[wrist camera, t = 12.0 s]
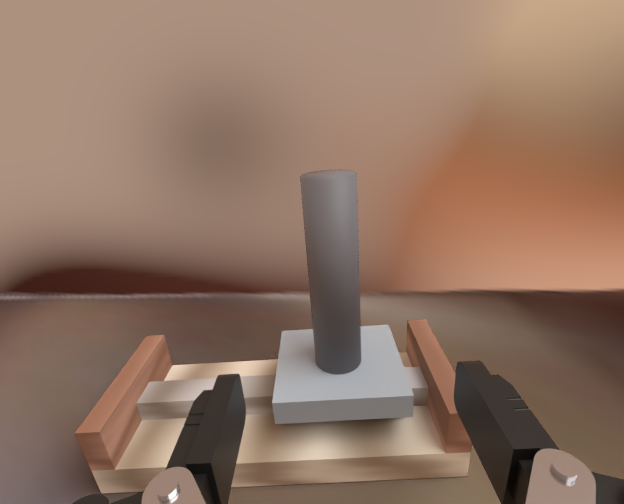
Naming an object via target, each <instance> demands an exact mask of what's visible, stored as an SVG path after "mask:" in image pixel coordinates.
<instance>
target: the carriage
mask: <svg viewBox="0 0 624 504" xmlns="http://www.w3.org/2000/svg"><path fill="white" fill-rule="evenodd" d="M300 182H301V194H302V204H303V217H304V229H305V241H306V253H307V265H308V277H309V287H310V300H311V312H312V324H313V329H308V330H291V331H282V335H281V342H280V349H279V357H278V364H277V371H276V378H275V385H274V392H273V400H272V407H273V413H274V420H275V424H287V423H306V422H325V421H345V420H364V419H383V418H402V417H413V403H414V395H413V392H412V389H411V386H410V383H409V381H408V378H407V375H406V372H405V369H404V366H403V364H402V361H401V358H400V355H399V352H398V350H397V347H396V344H395V341H394V338H393V336H392V333H391V330H390V327H389V325H375V326H361V324H360V283H359V282H360V281H359V243H358V242H359V240H358V198H357V197H358V196H357V172H355V171H352V170H322V171H315V172H309V173H305V174H303V175H301V176H300Z"/></svg>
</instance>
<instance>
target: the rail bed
mask: <svg viewBox="0 0 624 504" xmlns="http://www.w3.org/2000/svg"><path fill="white" fill-rule="evenodd" d="M399 355H400V358H401V361H402V364H403V366H404V369H405V372H406V375H407V378H408V381H409V383H410V386H411V389H412V392H413V395H414V403H413V417H402V418H383V419H364V420H345V421H325V422H306V423H287V424H275V420H274V413H273V407H272V400H273V392H274V385H275V378H276V371H277V364H278V359H276V360H259V361H241V362H224V363H207V364H189V365H172V362H171V359H170V355H169V351H168V348H167V344H166V340H165V337H164V335H157V336H146V338H145V339H144V340H143V342H142V343H141V344H140V346H139V347H138V348H137V350H136V351H135V352H134V354H133V355H132V357H131V358H130V359H129V361H128V362H127V363H126V365H125V366H124V367H123V369H122V370H121V371H120V373H119V374H118V375H117V377H116V378H115V380H114V381H113V382H112V384H111V385H110V386H109V388H108V389H107V390H106V392H105V393H104V394H103V396H102V397H101V398H100V400H99V401H98V402H97V404H96V405H95V407H94V408H93V409H92V411H91V412H90V413H89V415H88V416H87V417H86V419H85V420H84V421H83V423H82V424H81V425H80V427H79V428H78V429H77V431H76V432H75V435H76V438H77V440H78V442H79V444H80V446H81V449H82V451H83V453H84V455H85V458H86V460H87V462H88V464H89V467H90V469H91V471H92V473H93V476H94V478H95V480H96V482H97V485H98V487H99V489H100V491H101V493H123V492H142V491H144V490H145V488H146V487H147V485H148V484H149V482H150V481H151V480H152V479H153V478H154V477H155V476H156V475H158V474H159V473H161V472H162V471H164V470H165V469H166V467H167V464H168V462H169V460H170V457H171V455H172V452H173V450H174V447H175V445H176V443H177V440H178V438H179V435H180V433H181V431H182V428H183V427H184V423H185V421H186V418H187V417H188V414H189V411H190V409H191V406H192V404H193V402H194V400H195V399H196V398H197V397H198V396H199V395H200V394H201V393H202V392H203V390H212V389H213V387H214V384H215V381H216V378H217V376H218V375H222V374H239V375H240V378H241V383H242V388H243V394H244V399H245V405H246V420H245V425H244V430H243V435H242V439H241V444H240V448H239V453H238V458H237V462H236V467H235V471H234V476H233V481H232V485H231V487H250V486H271V485H293V484H314V483H335V482H356V481H378V480H399V479H420V478H441V477H463V476H468V469H469V461H470V454H471V447H472V442H471V440H470V438H469V436H468V434H467V432H466V430H465V428H464V425H463V423H462V421H461V419H460V417H459V415H458V413H457V411H456V407H455V403H454V386H455V376H456V374H455V372H454V371H453V369H452V367H451V365H450V363H449V361H448V359H447V358H446V356H445V354H444V352H443V350H442V348H441V347H440V345H439V343H438V341H437V339H436V337H435V336H434V334H433V332H432V330H431V328H430V326H429V325H428V323H427V321H426V319H423V320H408V321H407V349H406V352H399Z"/></svg>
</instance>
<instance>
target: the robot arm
mask: <svg viewBox="0 0 624 504" xmlns="http://www.w3.org/2000/svg"><path fill="white" fill-rule="evenodd" d="M454 403H455V407H456V411H457V413H458V415H459V417H460V419H461V421H462V423H463V425H464V428H465V430H466V432H467V434H468V436H469V438H470V440H471V442H472V444H473V446H474V448H475V450H476V452H477V454H478V456H479V459H480V461H481V463H482V465H483V467H484V469H485V471H486V473H487V475H488V477H489V479H490V481H491V483H492V485H493V487H494V490H495V492H496V494H497V496H498V498H499V500H500V502H501V504H624V480H623V479H618V478H614V477H610V476H605V475H601V474H597V473H594V472H591V471H590V470H589V469H588V468H587V467H586V465H585V464H583V463H582V462H581V461H580V460H579V459H577V458H576V457H574V456H572V455H571V454H569V453H566V452H564V451H561V450H559V448H558V447H557V446H556V444H555V443H554V442H553V440H552V439H551V438H550V436H549V435H548V433H547V432H546V431H545V429H544V428H543V427H542V425H541V424H540V423H539V421H538V420H537V418H536V417H535V416H534V414H533V413H532V412H531V410H529V409H528V406H527V405H526V404H525V402H524V401H523V400H521V397H520V395H519V394H518V393H517V391H516V390H515V389H514V387H513V386H512V385H511V384H510V383H509V382H507V381H506V380H505V379H503V378H502V377H501V376H499V375H490V373H489V372H488V370H487V369H486V367H485V366H484V364H483V363H482V362H481V361H465V362H458V363H457V367H456V376H455V386H454ZM245 420H246V405H245V399H244V394H243V388H242V383H241V378H240V375H239V374H222V375H218V376H217V378H216V381H215V384H214V387H213V389H212V390H203V392H202V393H201V394H200V395H199V396H198V397H197V398H196V399H195V400H194V402H193V404H192V406H191V409H190V411H189V414H188V417H187V418H186V421H185V423H184V427H183V428H182V431H181V433H180V435H179V438H178V440H177V443H176V445H175V447H174V450H173V452H172V455H171V457H170V460H169V462H168V464H167V467H166V469H165V470H164V471H162V472H161V473H159V474H158V475H156V476H155V477H154V478H153V479H152V480H151V481H150V482H149V484H148V485H147V487H146V488H145V490H144V491H142V492H140V493H138V494H136V495H133V496H130V497H127V498H125V499H122V500H119V501H116V502H114V503H111V504H228V499H229V494H230V490H231V485H232V481H233V476H234V471H235V467H236V462H237V458H238V453H239V448H240V444H241V439H242V435H243V430H244V425H245ZM73 504H110V502H109V500H108V499H107V498H106V497H105V496H103V495H100V494H93V495H88V496H85V497H83V498H81V499H79V500H77V501H76V502H74V503H73Z"/></svg>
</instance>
